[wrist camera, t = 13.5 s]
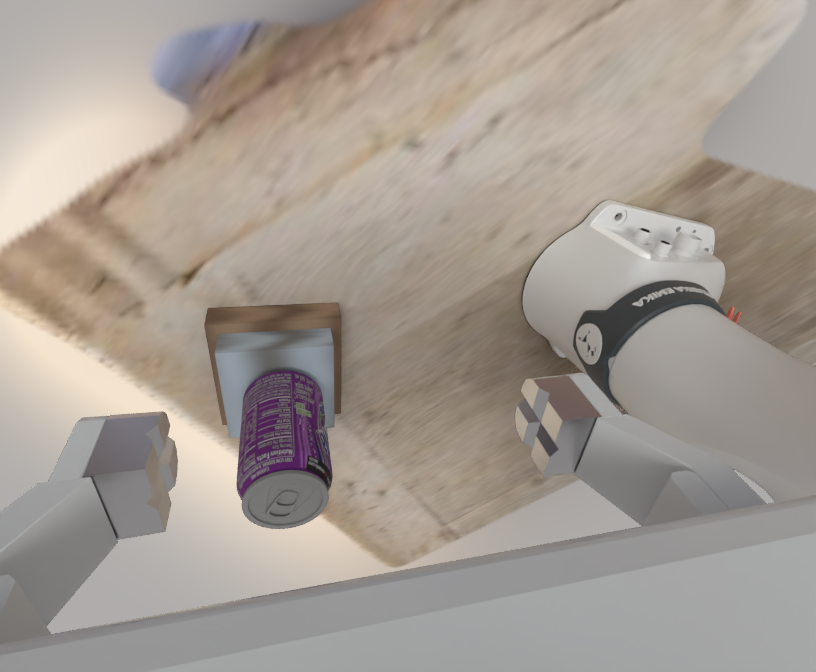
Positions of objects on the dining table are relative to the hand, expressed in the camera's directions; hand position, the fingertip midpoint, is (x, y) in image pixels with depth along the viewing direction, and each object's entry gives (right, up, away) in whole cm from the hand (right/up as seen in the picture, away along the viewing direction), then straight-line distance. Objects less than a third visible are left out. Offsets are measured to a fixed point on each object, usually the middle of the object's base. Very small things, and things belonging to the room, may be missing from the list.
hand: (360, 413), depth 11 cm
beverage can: (-11, -4, +33) cm, 35 cm away
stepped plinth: (-12, 0, +38) cm, 40 cm away
